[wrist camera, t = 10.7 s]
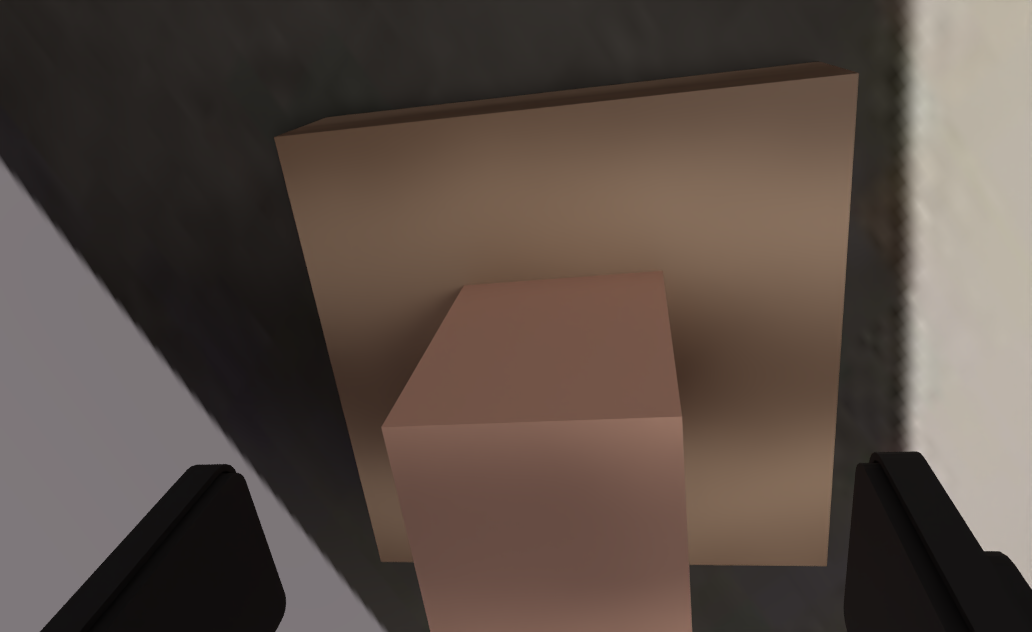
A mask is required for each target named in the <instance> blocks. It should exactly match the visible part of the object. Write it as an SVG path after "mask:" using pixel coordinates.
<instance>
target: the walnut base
mask: <svg viewBox="0 0 1032 632" xmlns="http://www.w3.org/2000/svg"><path fill="white" fill-rule="evenodd" d="M858 76H859V73H856V72H853V71H850V70H846V69H843V68H839V67H836V66H833V65H829V64H826V63H822V62H811V63H802V64H793V65H784V66H775V67H767V68H758V69H749V70H740V71H731V72H722V73H714V74H705V75H696V76H687V77H678V78H669V79H661V80H652V81H643V82H634V83H625V84H616V85H608V86H599V87H590V88H581V89H572V90H563V91H555V92H546V93H537V94H528V95H519V96H510V97H502V98H493V99H484V100H475V101H466V102H457V103H449V104H440V105H431V106H422V107H413V108H404V109H396V110H387V111H378V112H369V113H360V114H351V115H343V116H334V117H326V118H324V119H321V120H318V121H316V122H313V123H310V124H308V125H305V126H302V127H300V128H297V129H294V130H292V131H289V132H286V133H284V134H281V135H278V136H276V137H274V139H275V143H276V147H277V151H278V155H279V159H280V163H281V167H282V171H283V175H284V179H285V183H286V187H287V191H288V195H289V199H290V203H291V207H292V210H293V214H294V218H295V222H296V226H297V230H298V234H299V238H300V242H301V246H302V250H303V254H304V258H305V262H306V266H307V270H308V274H309V278H310V282H311V286H312V290H313V294H314V298H315V302H316V305H317V309H318V313H319V317H320V321H321V325H322V329H323V333H324V337H325V341H326V345H327V349H328V353H329V357H330V361H331V365H332V369H333V373H334V377H335V381H336V385H337V389H338V393H339V397H340V400H341V404H342V408H343V412H344V416H345V420H346V424H347V428H348V432H349V436H350V440H351V444H352V448H353V452H354V456H355V460H356V464H357V468H358V472H359V476H360V480H361V484H362V488H363V491H364V495H365V499H366V503H367V507H368V511H369V515H370V519H371V523H372V527H373V531H374V535H375V539H376V543H377V547H378V551H379V555H380V559H381V562H414V561H413V557H412V553H411V549H410V544H409V540H408V536H407V532H406V528H405V524H404V520H403V515H402V511H401V507H400V503H399V499H398V495H397V491H396V486H395V482H394V478H393V474H392V470H391V466H390V462H389V457H388V453H387V449H386V445H385V441H384V437H383V433H382V428H381V427H382V425H383V423H384V422H385V420H386V418H387V417H388V415H389V413H390V411H391V410H392V408H393V406H394V405H395V403H396V401H397V399H398V398H399V396H400V394H401V393H402V391H403V389H404V387H405V386H406V384H407V382H408V380H409V379H410V377H411V375H412V374H413V372H414V370H415V368H416V367H417V365H418V363H419V362H420V360H421V358H422V356H423V355H424V353H425V351H426V350H427V348H428V346H429V344H430V343H431V341H432V339H433V338H434V336H435V334H436V332H437V331H438V329H439V327H440V325H441V324H442V322H443V320H444V319H445V317H446V315H447V313H448V312H449V310H450V308H451V307H452V305H453V303H454V301H455V300H456V298H457V296H458V295H459V293H460V291H461V289H462V288H463V286H464V285H475V284H488V283H502V282H515V281H529V280H542V279H556V278H570V277H583V276H597V275H610V274H624V273H638V272H651V271H663V277H664V285H665V292H666V300H667V307H668V315H669V322H670V330H671V337H672V344H673V352H674V359H675V367H676V374H677V382H678V389H679V397H680V404H681V412H682V424H683V446H684V468H685V489H686V511H687V533H688V555H689V565H771V566H827V552H828V537H829V521H830V506H831V490H832V475H833V460H834V444H835V429H836V414H837V398H838V383H839V368H840V352H841V337H842V322H843V306H844V291H845V276H846V260H847V245H848V229H849V214H850V199H851V183H852V168H853V153H854V137H855V122H856V107H857V91H858Z"/></svg>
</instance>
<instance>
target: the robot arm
mask: <svg viewBox="0 0 1032 632" xmlns="http://www.w3.org/2000/svg"><path fill="white" fill-rule="evenodd" d="M285 607H286V597H285V592H284V590H283V587H282V584H281V581H280V578H279V576H278V572H277V570H276V567H275V564H274V561H273V558H272V555H271V552H270V549H269V546H268V544H267V541H266V538H265V535H264V532H263V529H262V527H261V524H260V521H259V518H258V515H257V512H256V509H255V506H254V503H253V501H252V498H251V495H250V492H249V489H248V486H247V483H246V481H245V479H244V477H243V476H242V475H241V474H239V473H236V471H235V469H234V468H233V467H232V466H231V465H227V464H219V465H218V464H217V465H216V464H214V465H195V466H191V467H190V468H189V469H188V470H187V471H186V472H185V473H184V474H183V475H182V476H181V477H180V478H179V479H178V481H177V482H176V483H175V484H174V485H173V486H172V487H171V488H170V489H169V490H168V491H167V493H166V494H165V495H164V496H163V497H162V498H161V499H160V500H159V501H158V503H157V504H156V505H155V506H154V507H153V508H152V509H151V510H150V512H148V513H147V515H146V516H145V517H144V518H143V519H142V520H141V521H140V522H139V524H138V525H137V526H136V527H135V528H134V529H133V530H132V531H131V532H130V533H129V535H127V537H126V538H125V539H124V540H123V541H122V542H121V543H120V544H119V546H118V547H117V548H116V549H115V550H114V551H113V552H112V553H111V554H110V555H109V556H108V557H107V559H106V560H105V561H104V562H103V563H102V564H101V565H100V566H99V568H97V570H96V571H95V572H94V573H93V574H92V575H91V576H90V577H89V578H88V580H87V581H86V582H85V583H84V584H83V585H82V586H81V587H80V588H79V589H78V591H77V592H76V593H75V594H74V595H73V596H72V597H71V598H70V599H69V600H68V602H67V603H66V604H65V605H64V606H63V607H62V608H61V609H60V610H59V611H58V613H57V614H56V615H55V616H54V617H53V618H52V619H51V620H50V622H48V624H47V625H46V626H45V627H44V628H43V629H42V630H41V631H40V632H275V631H276V629H277V628H278V626H279V624H280V622H281V620H282V618H283V616H284V612H285ZM844 617H845V623H846V628H847V632H1032V589H1031V588H1030V586H1029V585H1028V584H1027V582H1026V581H1025V579H1024V578H1023V576H1022V575H1021V573H1020V572H1019V570H1018V569H1017V567H1016V566H1015V565H1014V563H1013V562H1012V561H1011V560H1010V559H1009V558H1008V556H1006V555H1005V554H1003V553H1001V552H999V551H983V549H982V548H981V546H980V545H979V543H978V541H977V540H976V538H975V537H974V535H973V534H972V532H971V530H970V529H969V527H968V526H967V524H966V523H965V521H964V519H963V518H962V516H961V515H960V513H959V512H958V510H957V508H956V507H955V505H954V504H953V502H952V501H951V499H950V497H949V496H948V494H947V493H946V491H945V490H944V488H943V486H942V485H941V483H940V482H939V480H938V479H937V477H936V475H935V474H934V472H933V471H932V469H931V468H930V466H929V464H928V463H927V461H926V460H925V458H924V457H923V456H922V454H921V453H919V452H875V453H873V454H872V455H871V457H870V462H869V463H859V464H858V465H857V467H856V473H855V484H854V495H853V507H852V518H851V529H850V540H849V551H848V563H847V574H846V585H845V596H844Z"/></svg>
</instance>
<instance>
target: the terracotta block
mask: <svg viewBox="0 0 1032 632" xmlns="http://www.w3.org/2000/svg"><path fill="white" fill-rule="evenodd" d="M381 428H382V433H383V437H384V441H385V445H386V449H387V453H388V457H389V462H390V466H391V470H392V474H393V478H394V482H395V486H396V491H397V495H398V499H399V503H400V507H401V511H402V515H403V520H404V524H405V528H406V532H407V536H408V540H409V544H410V549H411V553H412V557H413V561H414V565H415V569H416V573H417V578H418V582H419V586H420V590H421V594H422V598H423V602H424V607H425V611H426V615H427V619H428V623H429V627H430V631H431V632H692V620H691V598H690V576H689V555H688V533H687V511H686V489H685V468H684V446H683V424H682V412H681V404H680V397H679V389H678V382H677V374H676V367H675V359H674V352H673V344H672V337H671V330H670V322H669V315H668V307H667V300H666V292H665V285H664V277H663V271H651V272H638V273H624V274H610V275H597V276H583V277H570V278H556V279H542V280H529V281H515V282H502V283H488V284H475V285H464V286H463V288H462V289H461V291H460V293H459V295H458V296H457V298H456V300H455V301H454V303H453V305H452V307H451V308H450V310H449V312H448V313H447V315H446V317H445V319H444V320H443V322H442V324H441V325H440V327H439V329H438V331H437V332H436V334H435V336H434V338H433V339H432V341H431V343H430V344H429V346H428V348H427V350H426V351H425V353H424V355H423V356H422V358H421V360H420V362H419V363H418V365H417V367H416V368H415V370H414V372H413V374H412V375H411V377H410V379H409V380H408V382H407V384H406V386H405V387H404V389H403V391H402V393H401V394H400V396H399V398H398V399H397V401H396V403H395V405H394V406H393V408H392V410H391V411H390V413H389V415H388V417H387V418H386V420H385V422H384V423H383V425H382V427H381Z"/></svg>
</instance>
